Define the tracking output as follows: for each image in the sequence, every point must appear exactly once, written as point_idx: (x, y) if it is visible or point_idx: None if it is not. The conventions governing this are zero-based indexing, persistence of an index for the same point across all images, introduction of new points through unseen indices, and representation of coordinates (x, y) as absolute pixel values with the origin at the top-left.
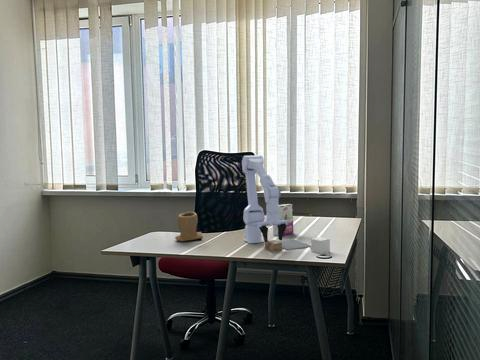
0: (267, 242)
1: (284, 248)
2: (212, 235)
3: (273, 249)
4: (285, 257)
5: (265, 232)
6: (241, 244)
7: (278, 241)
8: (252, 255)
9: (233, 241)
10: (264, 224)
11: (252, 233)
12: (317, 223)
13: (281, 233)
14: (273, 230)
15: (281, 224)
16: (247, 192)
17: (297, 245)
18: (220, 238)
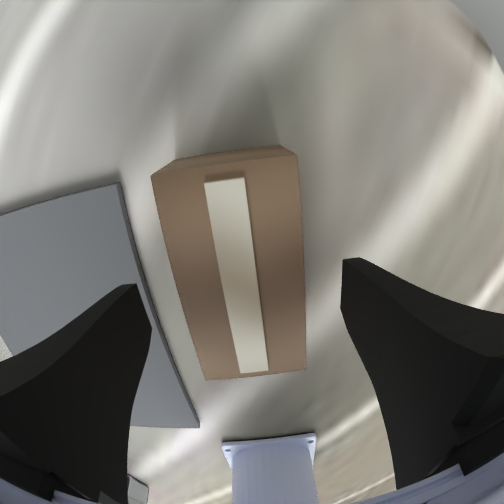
0: (303, 309)
1: (127, 229)
2: (357, 498)
3: (282, 148)
4: None
5: (465, 309)
6: (364, 425)
7: (138, 421)
8: (476, 122)
9: (356, 460)
10: (492, 484)
11: (303, 487)
12: None
13: (89, 336)
14: (146, 502)
15: (31, 484)
16: None
17: (22, 285)
18: (364, 482)
